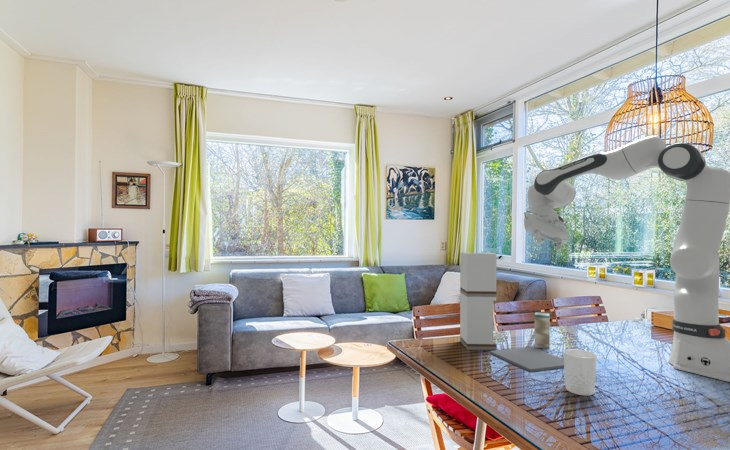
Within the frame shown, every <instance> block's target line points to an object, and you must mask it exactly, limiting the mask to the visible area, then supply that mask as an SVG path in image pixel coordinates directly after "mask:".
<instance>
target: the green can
mask: <svg viewBox="0 0 730 450" xmlns="http://www.w3.org/2000/svg"><path fill="white" fill-rule="evenodd" d="M550 315H551V314H550V313H546V312H535V313H534V348H542V349H550V348H551V347H550V344H551V343H550V341H551V338H550V337H551V336H550V333H551V332H550V331H551V329H550V327H551V326H550V323H551V322H550V319H551V318H550Z"/></svg>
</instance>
